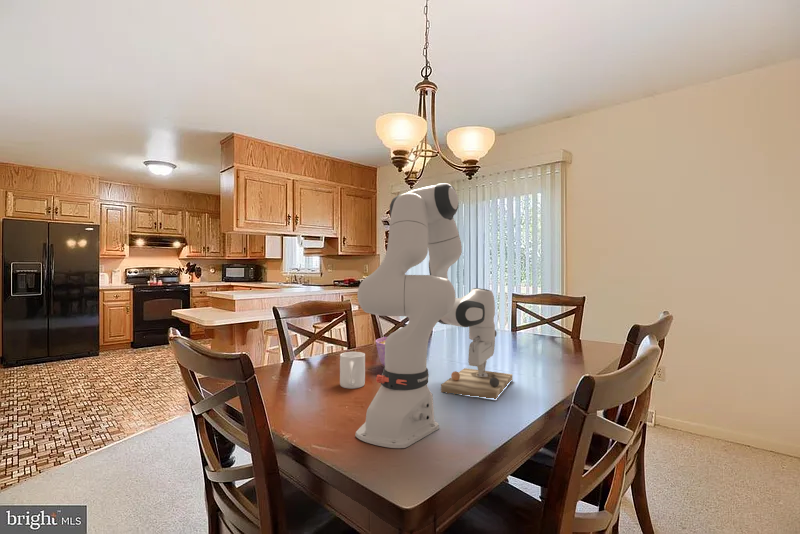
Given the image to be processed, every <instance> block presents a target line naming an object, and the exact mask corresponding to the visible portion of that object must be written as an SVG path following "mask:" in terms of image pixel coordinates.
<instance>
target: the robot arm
mask: <svg viewBox="0 0 800 534" xmlns="http://www.w3.org/2000/svg"><path fill="white" fill-rule="evenodd" d="M458 209H459V197H458V193H457V191H456V189H455V188H454V186H453V185H452V184H449V183H447V182H444V183H437V184H434V185H428V186H424V187H418V188H415V189H412V190H409V191H407V192H405V193H401V194H398V195H397V196H395V197H393V198H392V199H391V202H390V204H389V214H390V217H389V228H388V239H387V245H386V247H387V248H386V252H385V255H384V258H383V260H382V262H381V263H380V264H379V266H378V267H377V268H376V269H375V270H374V271H373V272H372V273H370V274H369V275H367V276H365V278H363V279H362V281H361V282H360V283H359V285H358V289H357V292H356V293H357V294H356V295H357V297H356V298H357V302H358V305H359V306H360V308H361V310H362V311H363V312H364V313H367V314H371V315H377V316H381V317H406V318H408V323H407V324H406V325H405V326H403V327H401V328H399V329H397V330H395V331H393V332H392V333H390V334H389V335H388V336H386V337H387V339H386V341H385V366H384V367H383V371H382V373H381V374H377V375H376V377H375V378H376V379H375V381H376V383H377V384H380V387H379V388H378V390H377V392H376V394H375V395H374V396H373V399H372V400H371V402H370V404H369V406H368V408H367V409H366V415H365V422H364V423H363V424H362V425H360V427H359V428H358V429H357V430H356V431H355V437H356V438H357V439H358V440H360V441H361V442H365V443H367V444H371V445H375V446H379V447H385V448H391V449H405V448H408V447H410V446H411V445H413V444H415V443H416V442H418V441H420V440H422V439H423V438H425V437H427V436H429V435H430V434H433V433H434V432H435V431H437V430H439V429H440V425H439V424H440V423H438V422H437V421H436V420H435V411H434V408H435V407H434V397H433V393H432V392H431V390H430V388H429V387H428V383H429V377H430V376H429V369H428V368H427V357H428V346H429V345H428V344H429V339H430V336H431V334H432V331H433V329H434V328H435V326H436V325H437V323H439V324H441V325H448V326H449V325H450V326H455V327H460V328H468V329H469V330H468V332H469V333H468V334H469V335H468V338H469V340H471V342H470V344H469V347H468V360H467V361H468V365H469V366H470V367H471V366H472V367H476V368H477V370H478V374H483V373H485V371H486V367H487V364H488V362H487V361H488V360H489V359H491V357H493V356H494V353H495V346H496V344H495V343H496V337H497V334H498V333H497V329H496V325H495V322H494V319H495V314H496V303H495V295H494V293H493V291H491V290H489V289H486V288H479V287H473V288H471V290H470V292H469V293H467V294H465V295H464V296H461V297H456V290H455V288H454V285H453V283H452V282H451V281H450V279H449V278H448V271H449V268H451V266H453V265H454V264H455V263H456V262H457V261H458V260H459V259H460V257H461V255H462V252H463V249H462V248H463V247H462V241H461V240H462V239H461V237H460V234H459V230H458V227H457V223H456V221H455V219H454V216H455V215H456V213H457V212H458ZM427 255H429V260H428V271H429V274H406V273H407V271H409V270H410V269H412V268H413V267H416V266H418V265H420V264H421V263H422V262H424V260H425V259H426V258H427Z"/></svg>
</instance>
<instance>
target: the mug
mask: <svg viewBox="0 0 800 534" xmlns="http://www.w3.org/2000/svg"><path fill="white" fill-rule="evenodd" d="M365 382H366V353H365V352H361V351H348V352H346V351H345V352H343V353H340V355H339V385H340V387H342V388H343V389H353V390H354V389H359V388H363V387H364V386H365V385H366V384H365Z"/></svg>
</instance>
